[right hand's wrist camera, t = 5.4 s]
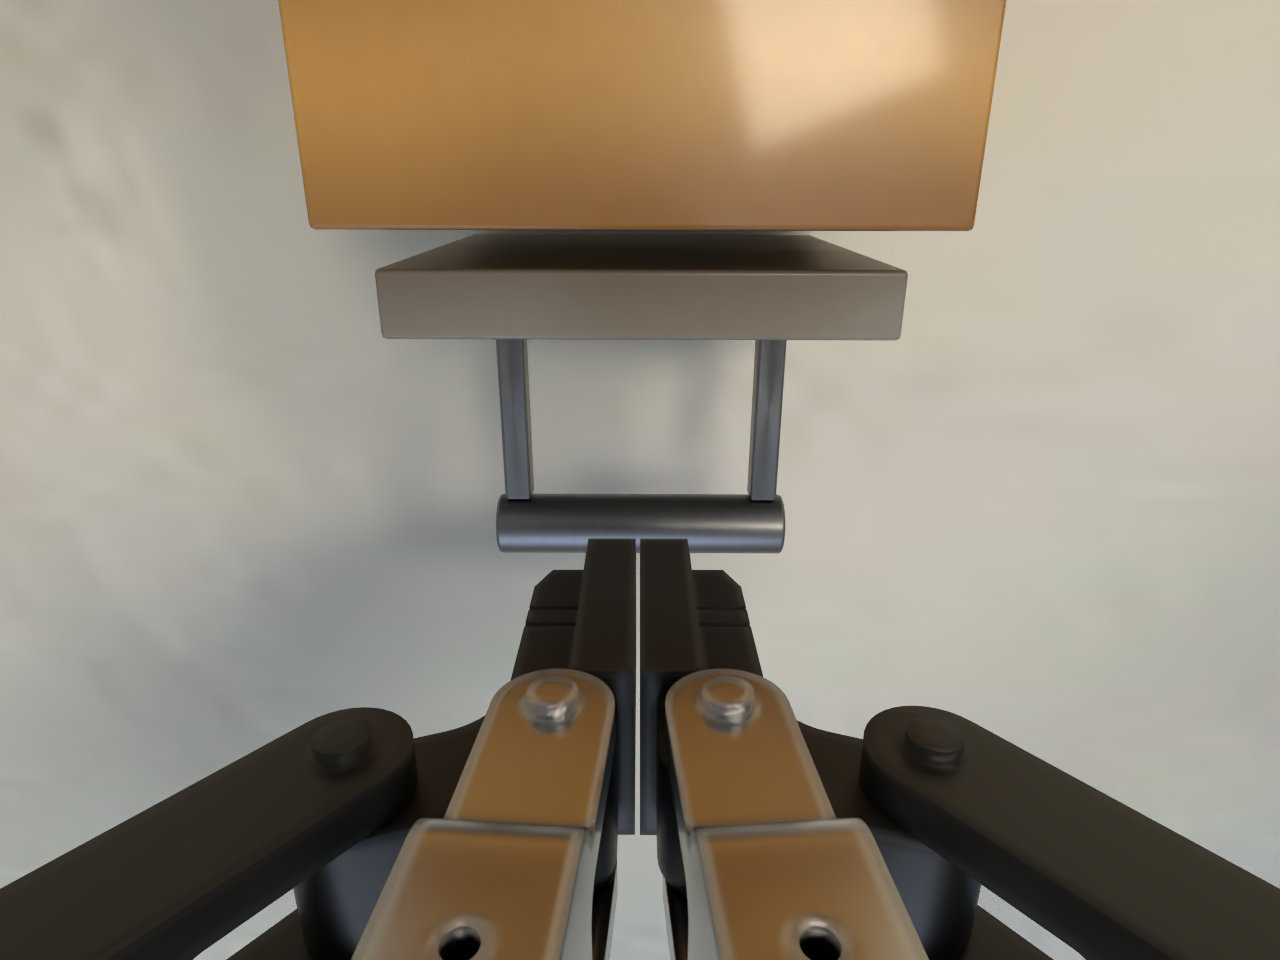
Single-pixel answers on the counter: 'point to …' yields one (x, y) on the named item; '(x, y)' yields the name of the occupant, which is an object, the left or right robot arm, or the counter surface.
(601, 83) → the cabinet
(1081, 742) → the counter surface
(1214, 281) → the counter surface
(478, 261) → the drawer
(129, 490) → the counter surface
